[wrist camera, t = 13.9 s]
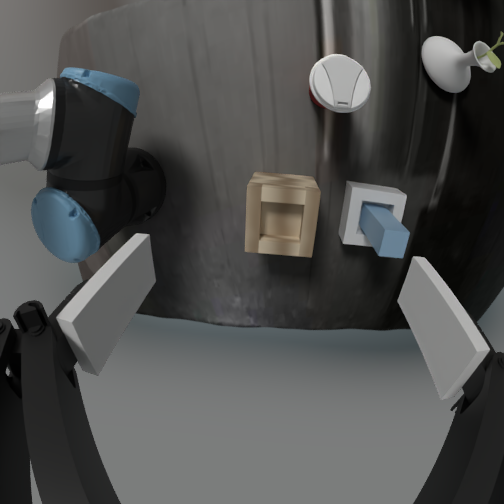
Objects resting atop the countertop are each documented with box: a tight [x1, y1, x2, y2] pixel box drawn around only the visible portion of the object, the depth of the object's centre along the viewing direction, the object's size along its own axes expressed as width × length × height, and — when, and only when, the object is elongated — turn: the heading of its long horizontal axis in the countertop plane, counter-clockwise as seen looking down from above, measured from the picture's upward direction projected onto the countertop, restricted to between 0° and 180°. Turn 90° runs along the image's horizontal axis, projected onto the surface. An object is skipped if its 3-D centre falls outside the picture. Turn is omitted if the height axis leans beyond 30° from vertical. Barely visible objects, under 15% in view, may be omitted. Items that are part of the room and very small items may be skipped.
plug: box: [359, 203, 410, 258], centre depth 40 cm, size 4×5×12 cm
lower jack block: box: [339, 181, 407, 247], centre depth 45 cm, size 10×10×4 cm
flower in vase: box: [422, 32, 504, 93], centre depth 20 cm, size 13×11×25 cm
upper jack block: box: [245, 172, 321, 257], centre depth 43 cm, size 10×10×10 cm
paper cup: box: [309, 54, 371, 113], centre depth 32 cm, size 8×8×14 cm
